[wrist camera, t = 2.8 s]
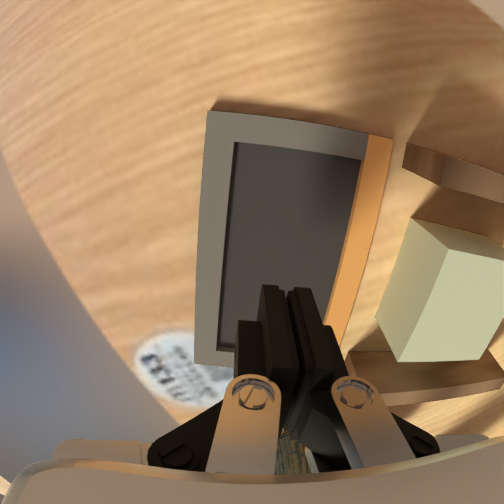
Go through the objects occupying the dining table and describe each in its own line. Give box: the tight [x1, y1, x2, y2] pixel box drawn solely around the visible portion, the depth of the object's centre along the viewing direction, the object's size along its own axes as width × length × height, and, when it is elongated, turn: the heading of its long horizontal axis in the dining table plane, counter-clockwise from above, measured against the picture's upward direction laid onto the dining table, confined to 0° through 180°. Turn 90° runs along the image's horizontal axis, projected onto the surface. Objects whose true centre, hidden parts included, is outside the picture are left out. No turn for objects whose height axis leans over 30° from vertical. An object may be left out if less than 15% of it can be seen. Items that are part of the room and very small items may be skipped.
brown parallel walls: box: [345, 143, 504, 406], centre depth 15 cm, size 12×13×4 cm
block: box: [375, 217, 504, 362], centre depth 15 cm, size 6×6×4 cm
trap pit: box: [194, 111, 393, 368], centre depth 15 cm, size 8×13×1 cm, turn 173°
